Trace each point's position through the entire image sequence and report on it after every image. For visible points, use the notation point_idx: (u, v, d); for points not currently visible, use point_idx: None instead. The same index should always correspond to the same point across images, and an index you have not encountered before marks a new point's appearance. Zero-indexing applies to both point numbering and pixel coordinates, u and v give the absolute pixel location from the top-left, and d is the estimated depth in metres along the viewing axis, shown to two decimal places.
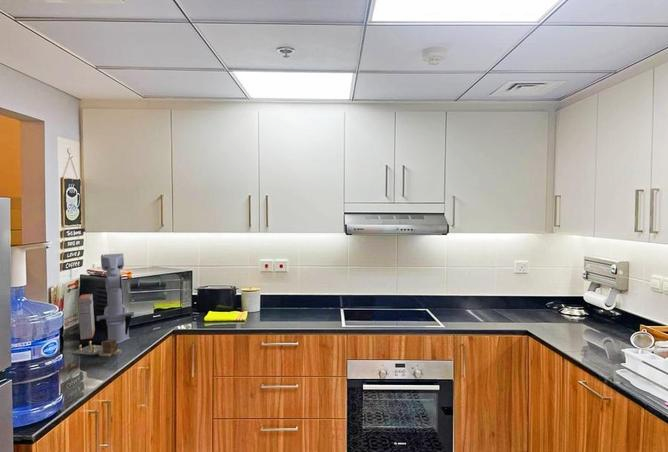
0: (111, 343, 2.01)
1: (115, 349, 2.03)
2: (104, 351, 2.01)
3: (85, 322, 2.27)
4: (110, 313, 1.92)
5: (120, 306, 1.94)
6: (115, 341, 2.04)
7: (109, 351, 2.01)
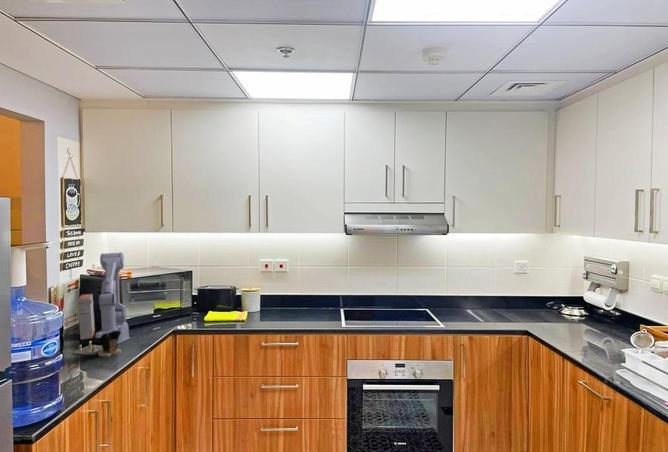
0: (111, 343, 2.01)
1: (115, 349, 2.03)
2: (104, 351, 2.01)
3: (85, 322, 2.27)
4: (109, 329, 2.00)
5: (115, 321, 2.04)
6: (115, 341, 2.04)
7: (109, 351, 2.01)
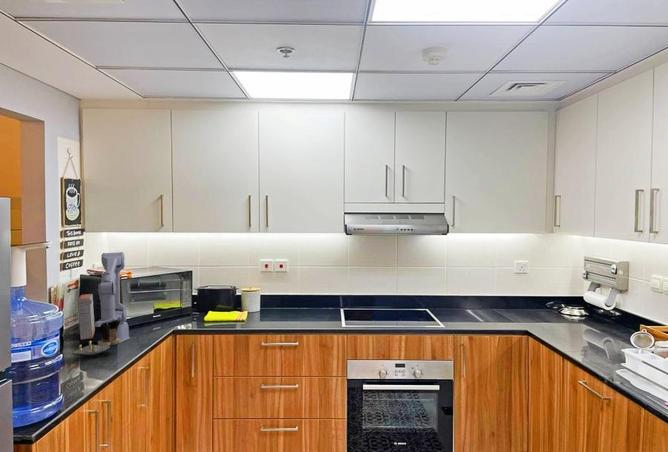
0: (110, 332, 2.01)
1: (114, 338, 2.03)
2: (103, 340, 2.01)
3: (85, 322, 2.27)
4: (109, 318, 2.00)
5: (115, 310, 2.04)
6: (114, 330, 2.03)
7: (108, 340, 2.01)
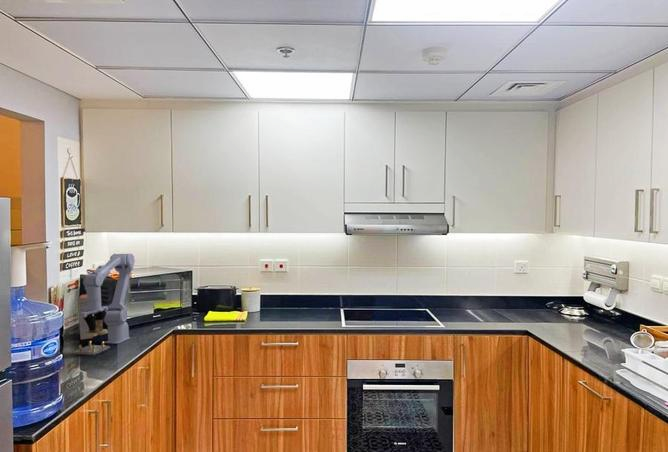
0: (97, 323, 2.04)
1: (101, 329, 2.07)
2: (90, 331, 2.04)
3: (85, 322, 2.27)
4: (95, 309, 2.03)
5: None
6: (101, 321, 2.07)
7: (95, 331, 2.04)
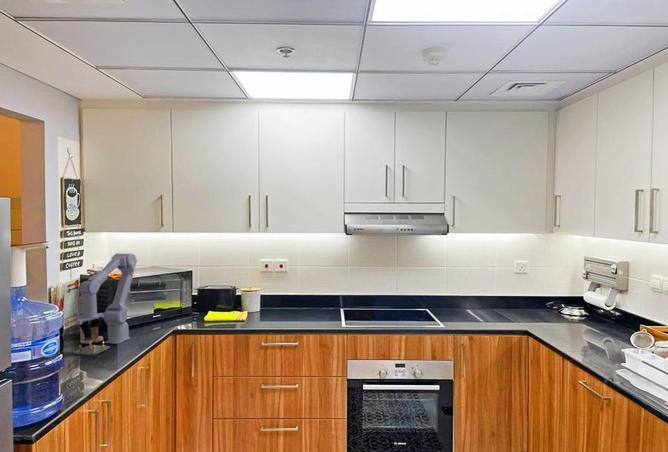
0: (92, 330, 2.05)
1: (96, 336, 2.08)
2: (85, 338, 2.06)
3: None
4: (90, 316, 2.04)
5: (96, 309, 2.08)
6: (96, 328, 2.08)
7: (90, 338, 2.05)
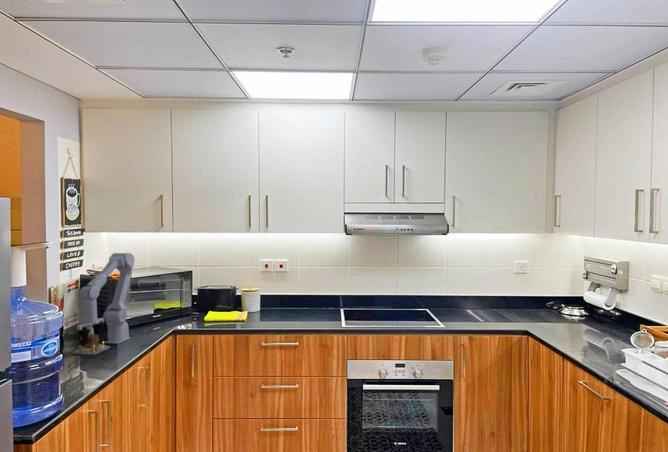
0: (93, 338, 2.05)
1: (97, 344, 2.08)
2: (86, 346, 2.06)
3: None
4: (90, 321, 2.05)
5: (96, 314, 2.08)
6: (97, 336, 2.08)
7: (91, 346, 2.05)
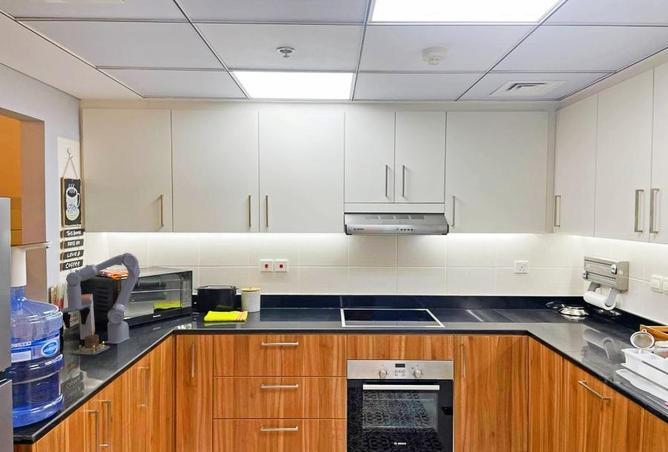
0: (93, 338, 2.05)
1: (97, 344, 2.08)
2: (86, 346, 2.06)
3: None
4: (73, 307, 2.09)
5: (81, 300, 2.13)
6: (97, 336, 2.08)
7: (91, 346, 2.05)
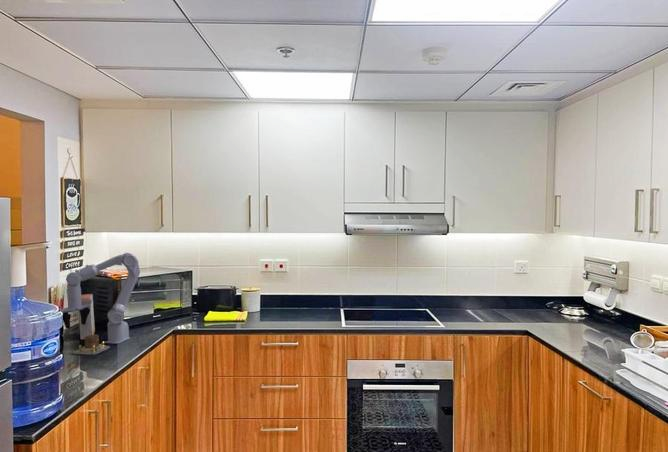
0: (93, 338, 2.05)
1: (97, 344, 2.08)
2: (86, 346, 2.06)
3: None
4: (73, 307, 2.09)
5: (81, 300, 2.13)
6: (97, 336, 2.08)
7: (91, 346, 2.05)
